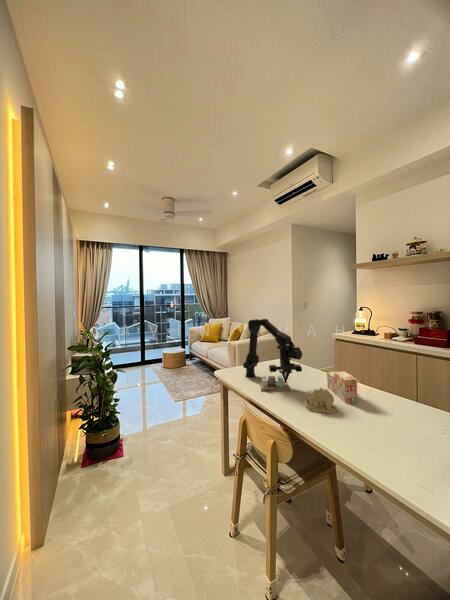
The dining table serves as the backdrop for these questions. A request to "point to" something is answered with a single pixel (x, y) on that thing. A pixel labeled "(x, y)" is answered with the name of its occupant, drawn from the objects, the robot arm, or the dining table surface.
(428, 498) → the dining table surface
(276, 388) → the vise base
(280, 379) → the sliding jaw
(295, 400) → the dining table surface
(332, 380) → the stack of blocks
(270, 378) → the block
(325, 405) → the ceramic model
